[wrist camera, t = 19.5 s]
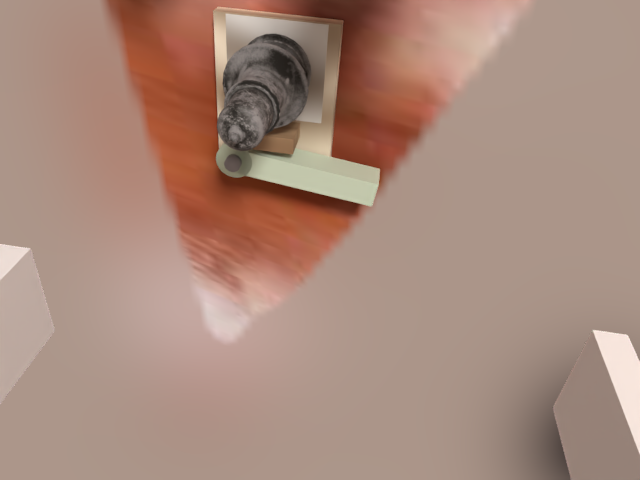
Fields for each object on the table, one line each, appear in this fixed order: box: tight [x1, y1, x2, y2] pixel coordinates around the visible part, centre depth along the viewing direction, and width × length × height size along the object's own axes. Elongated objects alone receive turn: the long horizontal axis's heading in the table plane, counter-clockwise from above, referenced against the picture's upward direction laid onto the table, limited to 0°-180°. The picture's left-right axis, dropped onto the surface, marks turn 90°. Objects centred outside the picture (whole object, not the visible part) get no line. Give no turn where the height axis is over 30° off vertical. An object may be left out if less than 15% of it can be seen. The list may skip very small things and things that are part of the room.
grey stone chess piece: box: [217, 34, 311, 151], centre depth 35 cm, size 6×6×12 cm
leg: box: [216, 142, 380, 207], centre depth 42 cm, size 12×3×3 cm, turn 79°
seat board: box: [213, 7, 344, 157], centre depth 41 cm, size 12×9×4 cm
